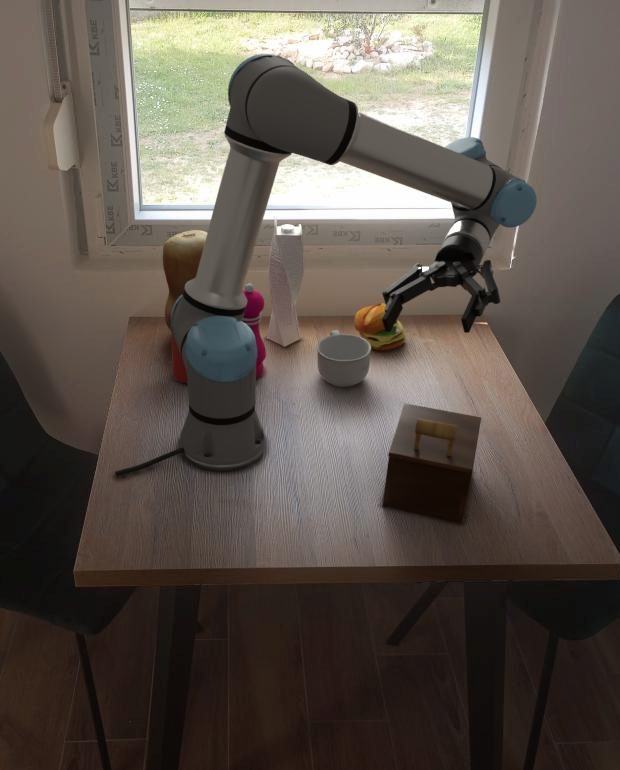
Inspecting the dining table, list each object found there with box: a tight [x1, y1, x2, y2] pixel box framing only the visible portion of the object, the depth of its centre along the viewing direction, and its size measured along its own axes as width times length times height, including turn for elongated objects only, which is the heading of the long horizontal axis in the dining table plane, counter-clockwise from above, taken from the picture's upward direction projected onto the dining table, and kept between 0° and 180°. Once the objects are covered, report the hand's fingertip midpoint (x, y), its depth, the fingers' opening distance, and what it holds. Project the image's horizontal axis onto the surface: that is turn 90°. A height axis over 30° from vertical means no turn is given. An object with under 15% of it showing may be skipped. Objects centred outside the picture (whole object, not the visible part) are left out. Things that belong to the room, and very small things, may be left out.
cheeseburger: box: [354, 302, 407, 351], centre depth 175 cm, size 10×11×10 cm
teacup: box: [316, 329, 372, 388], centre depth 162 cm, size 14×11×8 cm
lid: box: [388, 402, 482, 474], centre depth 126 cm, size 15×13×6 cm
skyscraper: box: [266, 214, 305, 348], centre depth 170 cm, size 8×8×28 cm
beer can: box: [170, 333, 188, 384], centre depth 160 cm, size 7×7×12 cm
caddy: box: [382, 456, 473, 525], centre depth 131 cm, size 14×13×11 cm
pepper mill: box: [242, 283, 267, 379], centre depth 160 cm, size 7×7×20 cm
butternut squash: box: [162, 229, 208, 333], centre depth 170 cm, size 14×13×25 cm
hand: (424, 326), depth 129 cm, fingers open, 13 cm apart
